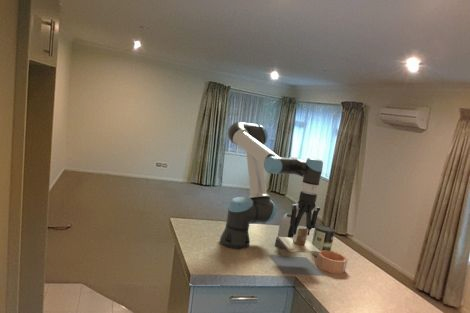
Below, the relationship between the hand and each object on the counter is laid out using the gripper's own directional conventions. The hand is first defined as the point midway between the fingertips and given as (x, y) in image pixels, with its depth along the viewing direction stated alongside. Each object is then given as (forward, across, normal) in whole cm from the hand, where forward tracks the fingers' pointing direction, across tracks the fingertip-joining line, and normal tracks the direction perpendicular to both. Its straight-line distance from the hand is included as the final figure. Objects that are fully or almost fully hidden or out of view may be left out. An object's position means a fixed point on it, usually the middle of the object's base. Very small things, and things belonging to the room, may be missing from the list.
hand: (299, 241), depth 171 cm
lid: (+2, 0, 0) cm, 2 cm away
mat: (+12, 0, -1) cm, 12 cm away
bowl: (+12, +18, -1) cm, 22 cm away
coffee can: (+12, +21, +16) cm, 29 cm away
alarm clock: (+12, +5, +25) cm, 29 cm away
